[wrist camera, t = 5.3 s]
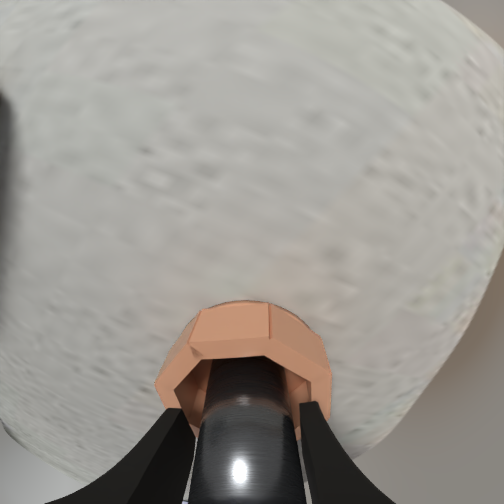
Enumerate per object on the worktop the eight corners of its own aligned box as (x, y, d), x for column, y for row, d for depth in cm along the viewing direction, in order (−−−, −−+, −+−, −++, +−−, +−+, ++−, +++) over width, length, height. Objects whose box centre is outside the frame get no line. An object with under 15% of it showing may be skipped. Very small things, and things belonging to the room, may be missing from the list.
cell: (286, 392, 13) (308, 536, 5) (218, 398, 13) (202, 540, 5) (281, 336, 12) (312, 506, 4) (203, 344, 12) (166, 509, 4)
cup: (320, 402, 14) (328, 442, 11) (197, 410, 14) (187, 449, 12) (317, 290, 12) (332, 327, 9) (160, 307, 12) (136, 343, 10)
